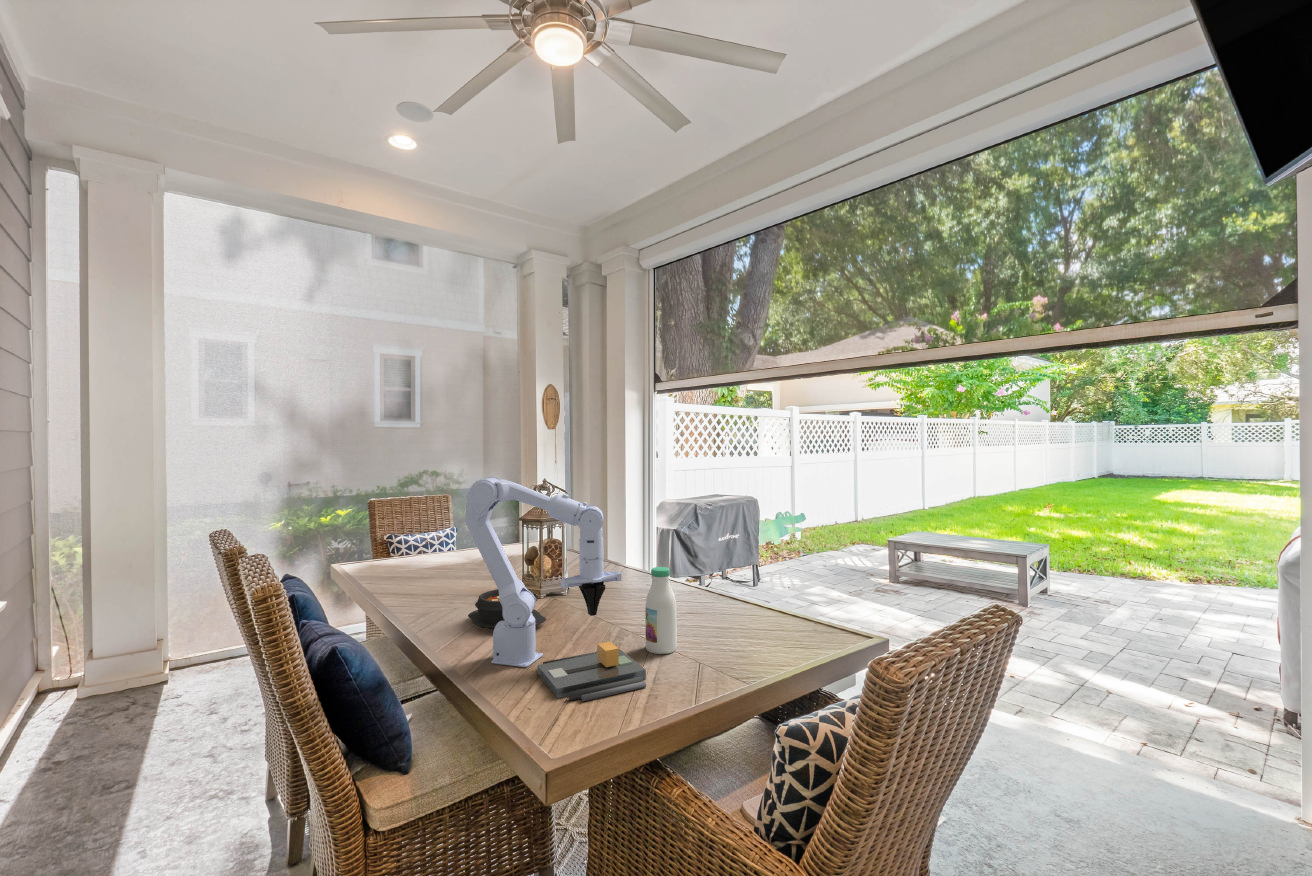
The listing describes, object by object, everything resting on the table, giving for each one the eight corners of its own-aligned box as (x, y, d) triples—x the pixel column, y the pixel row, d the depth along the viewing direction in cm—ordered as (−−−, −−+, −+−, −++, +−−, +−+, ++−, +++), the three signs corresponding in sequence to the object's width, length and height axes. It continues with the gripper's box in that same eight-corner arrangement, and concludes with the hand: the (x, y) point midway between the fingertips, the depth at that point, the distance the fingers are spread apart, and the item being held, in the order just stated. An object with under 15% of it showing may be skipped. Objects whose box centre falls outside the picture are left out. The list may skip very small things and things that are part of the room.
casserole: (561, 623, 168) (561, 593, 168) (508, 642, 153) (508, 609, 153) (505, 608, 183) (504, 581, 183) (451, 624, 169) (451, 594, 168)
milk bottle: (675, 643, 151) (675, 564, 151) (678, 654, 143) (677, 571, 143) (645, 644, 151) (644, 565, 151) (646, 655, 143) (645, 572, 143)
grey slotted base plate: (573, 704, 117) (573, 696, 117) (542, 667, 136) (542, 660, 136) (646, 688, 125) (646, 680, 125) (607, 655, 143) (607, 648, 143)
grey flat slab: (557, 698, 120) (556, 687, 120) (537, 673, 133) (537, 663, 133) (645, 678, 129) (645, 668, 129) (619, 657, 142) (619, 647, 142)
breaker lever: (606, 667, 130) (605, 650, 130) (597, 659, 134) (597, 643, 134) (618, 664, 131) (618, 648, 131) (609, 657, 136) (609, 641, 136)
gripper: (567, 563, 135) (568, 623, 135) (626, 557, 141) (627, 614, 141) (558, 558, 141) (558, 615, 141) (614, 552, 148) (615, 606, 148)
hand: (592, 614), depth 142 cm, fingers closed
